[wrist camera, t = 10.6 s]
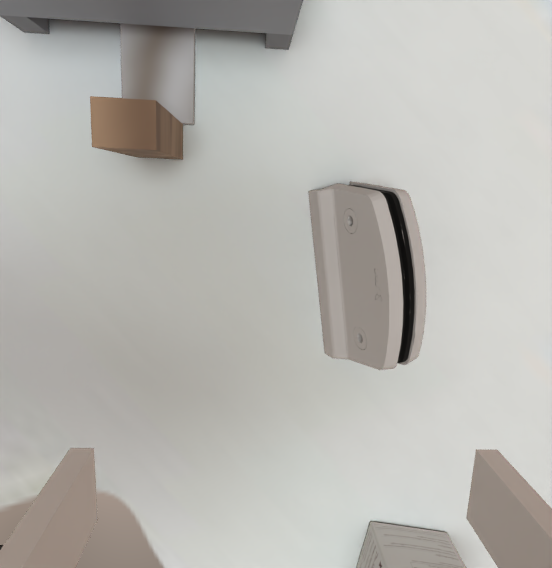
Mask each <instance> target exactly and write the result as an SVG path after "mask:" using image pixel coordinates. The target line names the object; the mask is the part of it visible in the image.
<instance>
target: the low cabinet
mask: <svg viewBox="0 0 552 568" xmlns="http://www.w3.org/2000/svg"><path fill="white" fill-rule="evenodd" d="M302 2H303V0H0V16H1V17H2V18H4V19H5V20H7V21H8V22H10V23H11V24H13V25H14V26H16V27H17V28H19V29H20V30H22V31H23V32H28V33H43V34H49V20H48V18H49V19H63V20H78V21H93V22H108V23H123V24H137V25H152V26H167V27H182V28H197V29H211V30H226V31H241V32H256V33H266V43H265V48H272V49H288V50H289V46H290V43H291V39H292V36H293V33H294V29H295V26H296V23H297V19H298V16H299V12H300V9H301V6H302Z"/></svg>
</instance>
